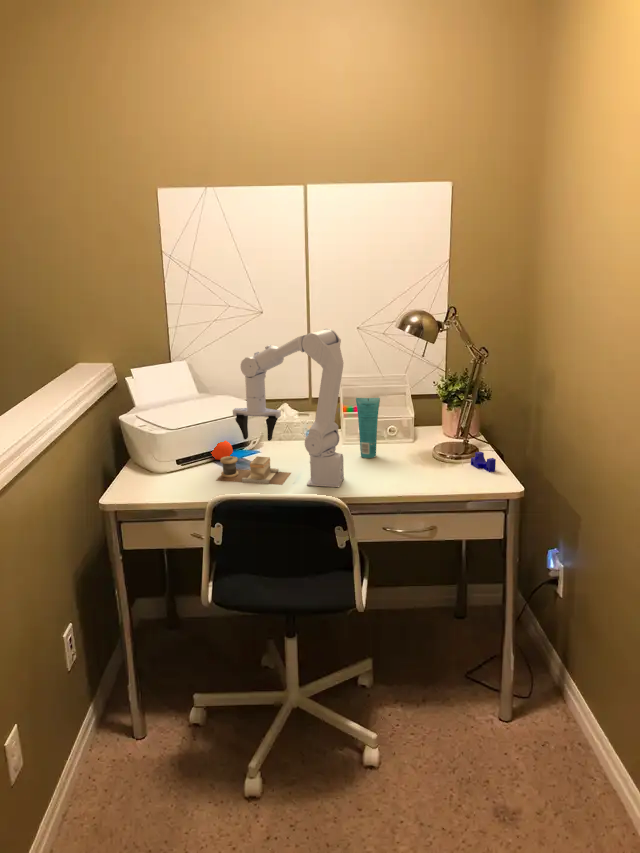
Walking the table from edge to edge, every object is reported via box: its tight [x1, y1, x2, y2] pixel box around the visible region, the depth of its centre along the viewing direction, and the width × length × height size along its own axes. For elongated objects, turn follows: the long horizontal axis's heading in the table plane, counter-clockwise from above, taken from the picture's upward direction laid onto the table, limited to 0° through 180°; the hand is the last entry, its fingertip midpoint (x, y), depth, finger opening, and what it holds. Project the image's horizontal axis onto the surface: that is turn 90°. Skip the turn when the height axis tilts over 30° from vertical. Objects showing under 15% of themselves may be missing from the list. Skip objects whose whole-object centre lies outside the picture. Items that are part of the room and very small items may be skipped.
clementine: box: [210, 440, 234, 461], centre depth 232 cm, size 8×7×7 cm
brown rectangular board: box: [215, 467, 292, 486], centre depth 215 cm, size 20×10×2 cm, turn 77°
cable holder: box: [470, 451, 497, 473], centre depth 222 cm, size 8×4×4 cm, turn 20°
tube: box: [355, 397, 381, 459], centre depth 232 cm, size 7×5×19 cm, turn 91°
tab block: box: [249, 456, 271, 479], centre depth 214 cm, size 4×6×5 cm
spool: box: [219, 455, 239, 478], centre depth 216 cm, size 5×5×5 cm
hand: (257, 439), depth 223 cm, fingers open, 7 cm apart
